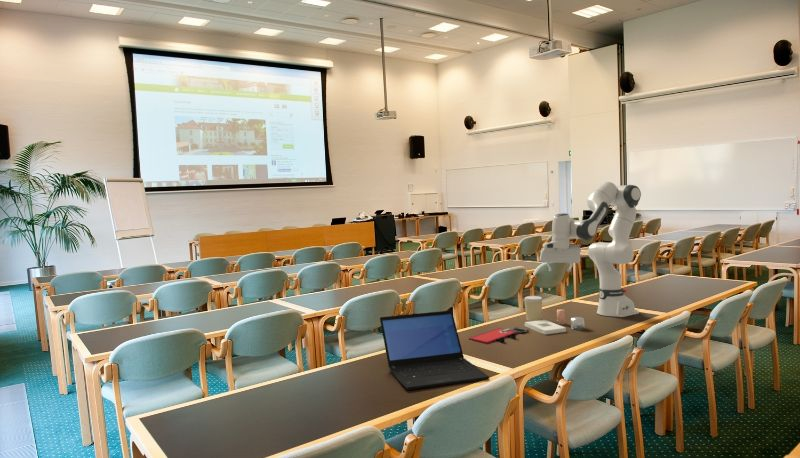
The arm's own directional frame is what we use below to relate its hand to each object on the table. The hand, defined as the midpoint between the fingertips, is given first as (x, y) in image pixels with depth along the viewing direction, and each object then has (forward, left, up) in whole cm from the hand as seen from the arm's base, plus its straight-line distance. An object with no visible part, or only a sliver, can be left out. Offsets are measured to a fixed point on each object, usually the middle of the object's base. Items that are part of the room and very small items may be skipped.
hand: (559, 271), depth 283 cm
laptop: (+88, +40, -28) cm, 100 cm away
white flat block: (+14, +7, -27) cm, 31 cm away
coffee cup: (+9, -11, -27) cm, 31 cm away
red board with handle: (+40, +9, -28) cm, 49 cm away
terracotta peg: (+1, +2, -27) cm, 27 cm away
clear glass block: (-1, +13, -27) cm, 30 cm away
